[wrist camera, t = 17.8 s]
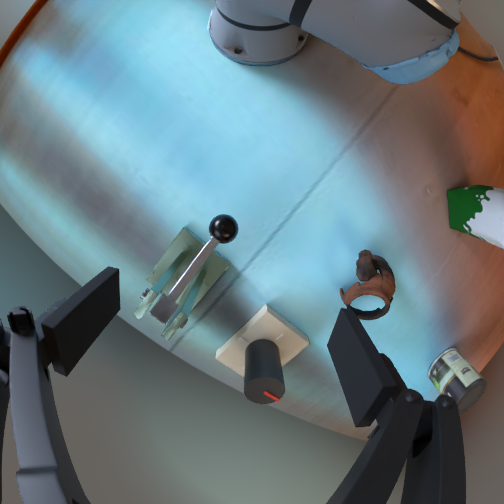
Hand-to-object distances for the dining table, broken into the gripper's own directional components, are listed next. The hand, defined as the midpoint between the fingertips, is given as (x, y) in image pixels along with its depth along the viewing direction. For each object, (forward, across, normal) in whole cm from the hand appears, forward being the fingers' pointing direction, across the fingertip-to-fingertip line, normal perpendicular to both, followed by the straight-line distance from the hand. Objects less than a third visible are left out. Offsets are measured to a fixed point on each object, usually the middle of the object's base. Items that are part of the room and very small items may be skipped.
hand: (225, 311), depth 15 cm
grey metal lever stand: (+26, -7, -9) cm, 29 cm away
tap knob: (+23, +7, -21) cm, 32 cm away
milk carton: (+27, +39, +11) cm, 49 cm away
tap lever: (+18, -5, -5) cm, 19 cm away
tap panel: (+26, +7, -21) cm, 34 cm away
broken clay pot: (+27, +21, -5) cm, 34 cm away
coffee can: (+26, +54, -25) cm, 65 cm away
